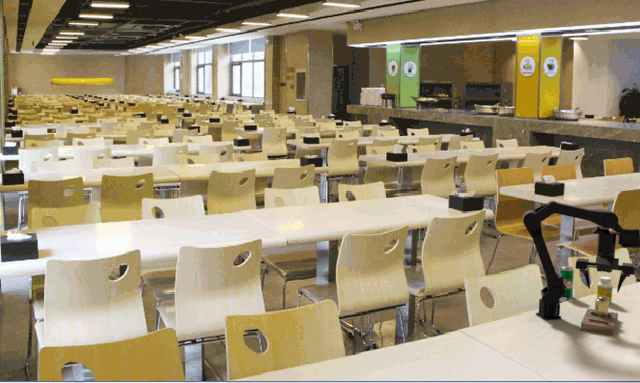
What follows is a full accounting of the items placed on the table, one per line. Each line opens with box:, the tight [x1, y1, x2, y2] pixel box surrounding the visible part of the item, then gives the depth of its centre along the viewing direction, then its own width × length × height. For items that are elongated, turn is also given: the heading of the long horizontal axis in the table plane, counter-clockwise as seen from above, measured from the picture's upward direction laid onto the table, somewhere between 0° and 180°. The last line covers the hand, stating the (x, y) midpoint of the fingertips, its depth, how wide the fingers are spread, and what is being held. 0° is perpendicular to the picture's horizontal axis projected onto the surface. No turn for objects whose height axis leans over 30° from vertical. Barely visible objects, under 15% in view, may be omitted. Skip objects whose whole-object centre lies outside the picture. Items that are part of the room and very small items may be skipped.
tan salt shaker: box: [594, 296, 610, 318], centre depth 226 cm, size 4×4×9 cm
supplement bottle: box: [596, 276, 613, 304], centre depth 249 cm, size 5×5×10 cm
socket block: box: [580, 308, 619, 336], centre depth 223 cm, size 18×10×2 cm, turn 151°
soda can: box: [559, 265, 575, 299], centre depth 256 cm, size 5×5×12 cm
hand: (603, 290), depth 225 cm, fingers open, 9 cm apart
